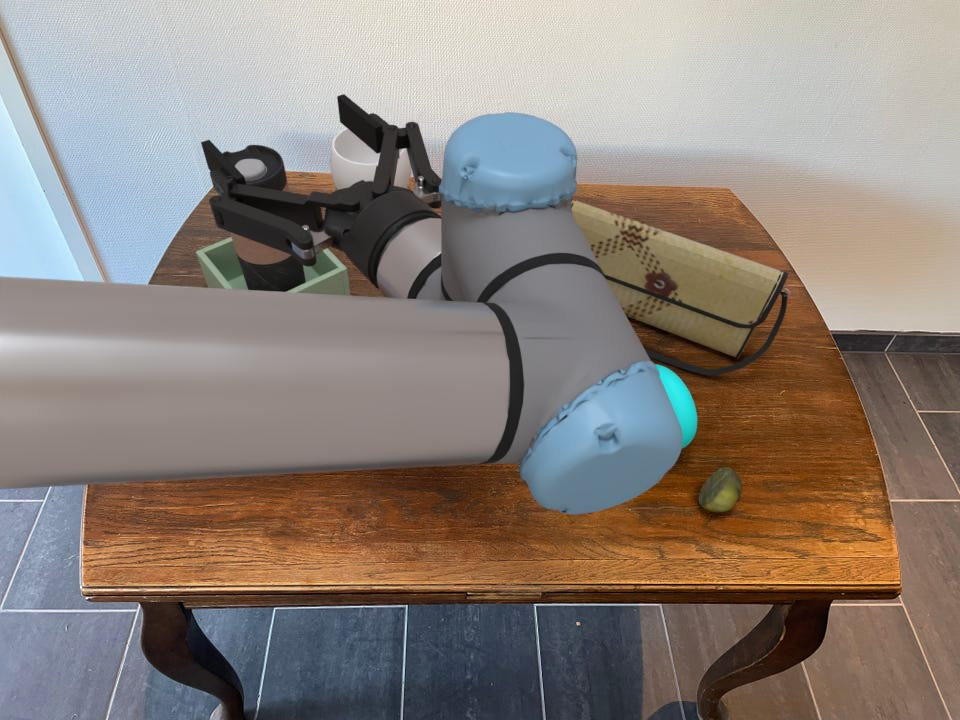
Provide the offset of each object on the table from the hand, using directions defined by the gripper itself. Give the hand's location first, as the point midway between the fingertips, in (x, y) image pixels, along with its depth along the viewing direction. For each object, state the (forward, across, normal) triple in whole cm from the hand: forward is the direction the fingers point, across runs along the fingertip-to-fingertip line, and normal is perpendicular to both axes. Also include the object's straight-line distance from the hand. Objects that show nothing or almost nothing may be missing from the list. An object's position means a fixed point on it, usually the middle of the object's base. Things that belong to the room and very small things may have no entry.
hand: (278, 129), depth 64 cm
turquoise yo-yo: (-34, +20, -30) cm, 50 cm away
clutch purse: (-23, +35, -30) cm, 51 cm away
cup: (+13, +18, -30) cm, 37 cm away
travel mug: (+10, 0, -29) cm, 31 cm away
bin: (+10, 0, -30) cm, 32 cm away
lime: (-45, +23, -30) cm, 59 cm away
